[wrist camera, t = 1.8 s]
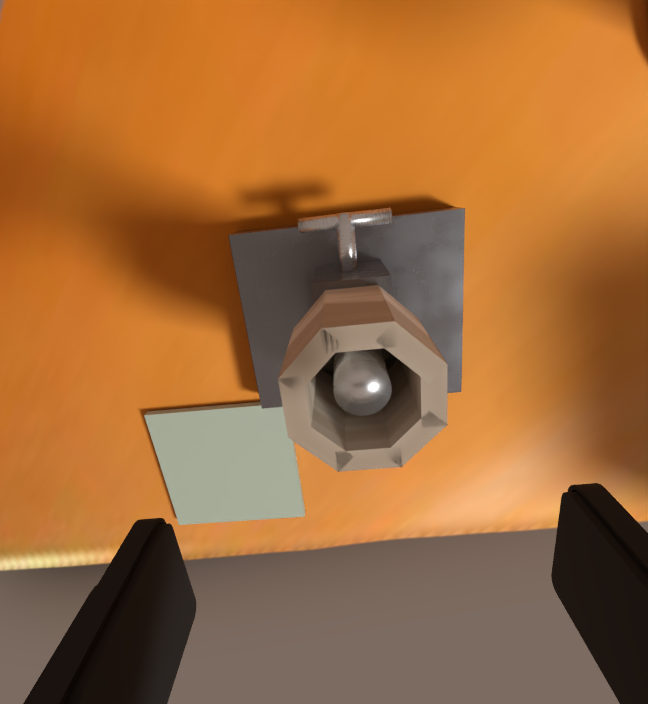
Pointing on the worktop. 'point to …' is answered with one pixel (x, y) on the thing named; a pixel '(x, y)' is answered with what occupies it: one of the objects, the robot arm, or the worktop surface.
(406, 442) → the hollow octagonal tube
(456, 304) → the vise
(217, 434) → the mat
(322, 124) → the worktop surface
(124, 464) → the worktop surface
